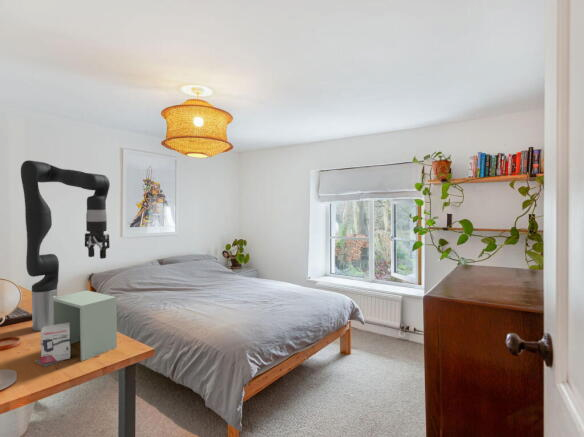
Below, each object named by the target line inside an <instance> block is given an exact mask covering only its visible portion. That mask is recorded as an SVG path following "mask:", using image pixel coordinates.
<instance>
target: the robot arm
mask: <svg viewBox="0 0 584 437" xmlns="http://www.w3.org/2000/svg"><path fill="white" fill-rule="evenodd" d="M20 177H21V184H22V189H23V197H24V207H25V208H24V210H25V212H24V214H25V215H24V216H25V226H26V227H25V228H26V229H25V230H26V257H25V258H26V259H25V260H26V261H25V263H26V271H27V274H28V276H30V277H32V278H35V277H41V276H43V277H42V278H41V279H39V281H37V282H35V283H34V284H32V286H31V307H32V308H31V314H32V315H31V316H32V319H31V320H32V321H31V322H32V323H31V324H32V330H33V331H36V332H37V331H39V332H41V328H42V327H45V326H51V325H53V321H52V298H54V297H58V284H59V275H60V274H59V270H60V262H59V258H58V256H57V255H56V254H55V253H48V254H47V253H46V254H45V253H44V254H40V250H41V245H42V244H43V241H44V239H45V238H46V236H48V233H49V231H50V230H51V229H52V223H53V222H52V221H53V220H52V218H53V217H52V210H51V208H50V206H49V205H48V203H47V202H46V200H45V199H44V198H43V196H42V194H41V192H40V189H39V188H40V187H39V183H60V184H64V185H65V186H71V187H76V188H80V189H84V190H88V191H94V193H93V195H90V196H88V197H86V198H87V199H86V213H85V214H86V215H85V216H86V217H85V219H86V221H85V222H86V223H85V224H86V233H84V247H85V248H87V249H88V250H87V251H88V253H87V254H88V258H92V257H95V247H96V246H97V247H98V248H99V259H101V260H102V259H106V258H107V250H108V249H110V246H111V245H110V234H109V233H108V234H107V233H106V234H105V232H107V231H108V230H107V229H108V227H107V225H108V223H107V220H108V219H107V208H106V206H107V204H106V200H107V198H108V194H109V190H110V186H111V185H110V183H111V182H110V180H109V178H108V176H106V175H104V174H99V173H91V172H84V171H81V170H74V169H67V168H66V169H65V168H64V169H63V168H60V167H57V166H54V165H52V164H49V163H46V162H44V161H37V160H36V161H35V160H25V161H24V162H22V164H21V165H20Z"/></svg>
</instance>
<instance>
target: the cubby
mask: <svg viewBox="0 0 584 437" xmlns="http://www.w3.org/2000/svg"><path fill="white" fill-rule="evenodd" d="M117 314H118V313H117V297H116V296H112V295H109V294H105V293H99V292H96V291H91V290H84V291H83V290H82V291H78V292H73V293H68V294H64V295H60V296H57V297H54V298H52V321H53V325H57V324H63V323H70V338H71V345H72V344H74V343H78V342H79V343H80V361H81V362H83V361H87V360H89V359H91V358H94V357H96V356H99V355H101V354H103V353H106V352H108V351H112V350H115V349H116V348H118V336H117V334H118V331H117V328H118V326H117V324H118V323H117V320H118V319H117V317H118V316H117Z"/></svg>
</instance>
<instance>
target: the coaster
mask: <svg viewBox="0 0 584 437" xmlns="http://www.w3.org/2000/svg"><path fill="white" fill-rule="evenodd" d="M65 360H66V359H64V360H59V361H54V362H49V363H45V364H41V358H40V359H37V360H35V363H37V364H39V365H41V366H42V367H46V368H47V367H49V366H51V365H54V364H57V363H60V362H63V361H65Z"/></svg>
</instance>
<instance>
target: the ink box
mask: <svg viewBox="0 0 584 437" xmlns="http://www.w3.org/2000/svg"><path fill="white" fill-rule="evenodd" d="M71 346H72V344H71V338H70V323H63V324H57V325H51V326H45V327H42V328H41V331H40V353H41V354H40V357H41V358H40V359H41V364H45V363H49V362H54V361H59V360H63V361H65V360H68V359H71V350H72V349H71ZM64 359H65V360H64ZM41 364H40V365H41Z"/></svg>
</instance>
